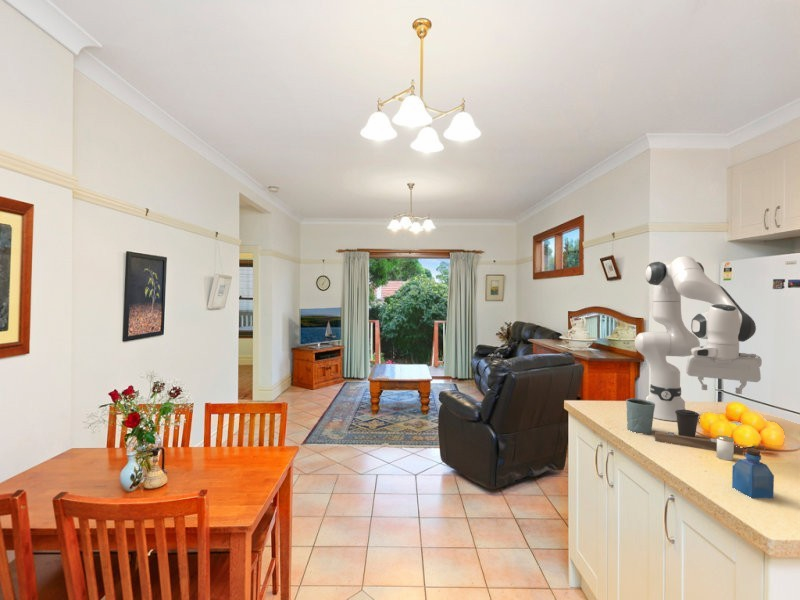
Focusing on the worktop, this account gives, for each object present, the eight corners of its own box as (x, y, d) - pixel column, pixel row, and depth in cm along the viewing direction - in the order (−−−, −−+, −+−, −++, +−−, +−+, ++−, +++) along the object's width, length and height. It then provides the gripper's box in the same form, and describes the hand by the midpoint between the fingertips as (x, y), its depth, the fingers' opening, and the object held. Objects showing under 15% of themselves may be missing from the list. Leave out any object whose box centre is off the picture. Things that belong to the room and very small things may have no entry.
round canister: (715, 454, 143) (715, 434, 143) (731, 457, 141) (732, 436, 141) (717, 458, 139) (718, 438, 139) (734, 461, 137) (735, 440, 137)
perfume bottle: (753, 487, 118) (753, 446, 118) (773, 498, 112) (774, 454, 112) (732, 487, 118) (732, 445, 118) (751, 498, 112) (752, 454, 112)
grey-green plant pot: (623, 425, 175) (624, 397, 175) (650, 428, 172) (651, 399, 171) (628, 433, 165) (629, 403, 165) (657, 436, 162) (658, 405, 162)
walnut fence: (655, 439, 158) (655, 430, 158) (741, 453, 145) (742, 442, 145) (655, 441, 156) (655, 431, 156) (743, 455, 143) (743, 444, 143)
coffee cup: (704, 439, 159) (705, 413, 159) (683, 439, 159) (684, 413, 159) (689, 432, 167) (690, 408, 167) (669, 432, 167) (670, 407, 167)
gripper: (759, 353, 139) (757, 393, 140) (686, 348, 150) (685, 386, 150) (764, 355, 134) (762, 397, 134) (688, 350, 144) (686, 389, 145)
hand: (721, 391), depth 142 cm, fingers open, 8 cm apart
